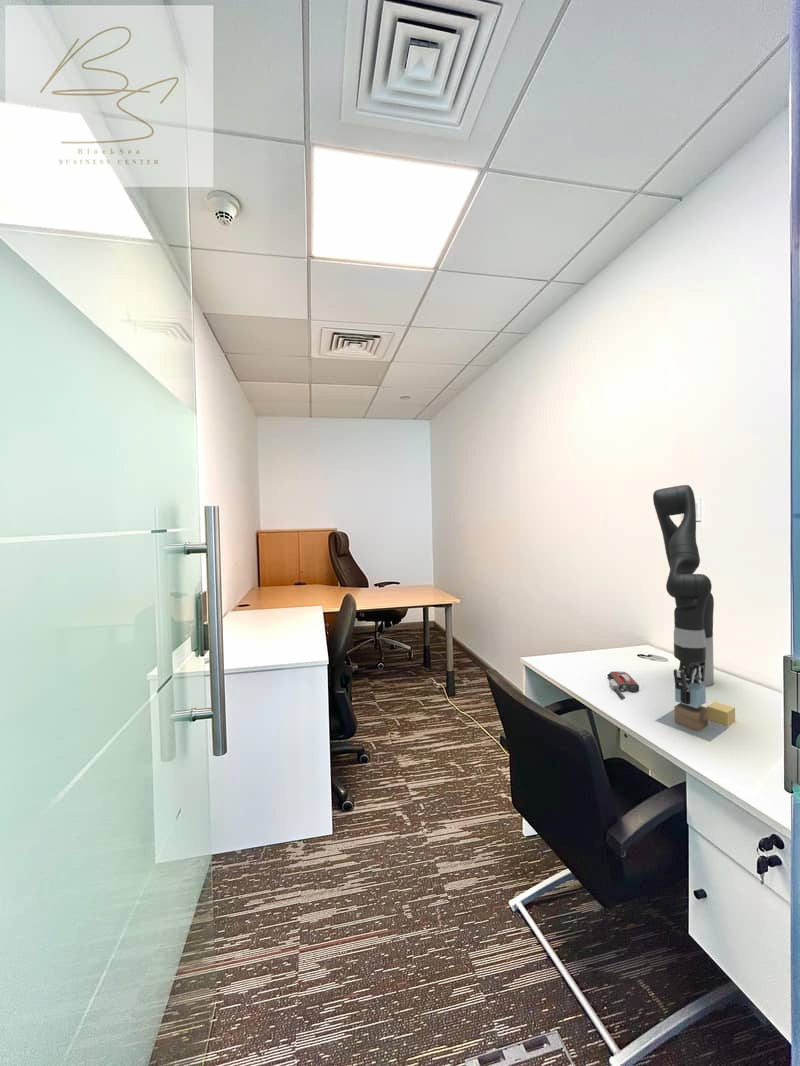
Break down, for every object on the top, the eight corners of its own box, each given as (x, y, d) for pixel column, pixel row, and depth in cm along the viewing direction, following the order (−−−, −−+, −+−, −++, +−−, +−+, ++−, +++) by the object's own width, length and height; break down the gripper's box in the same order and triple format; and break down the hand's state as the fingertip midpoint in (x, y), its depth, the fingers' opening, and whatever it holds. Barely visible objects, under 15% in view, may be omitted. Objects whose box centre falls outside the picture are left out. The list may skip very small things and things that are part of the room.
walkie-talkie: (601, 678, 157) (620, 702, 137) (601, 666, 157) (620, 689, 137) (626, 678, 155) (649, 702, 136) (626, 667, 155) (648, 689, 136)
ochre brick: (714, 717, 124) (714, 701, 124) (735, 724, 120) (734, 707, 120) (707, 722, 121) (707, 706, 121) (727, 729, 117) (727, 712, 117)
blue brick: (684, 696, 123) (684, 679, 123) (705, 702, 118) (705, 685, 118) (675, 701, 120) (674, 684, 120) (696, 708, 115) (696, 690, 115)
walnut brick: (684, 716, 123) (684, 700, 123) (707, 724, 118) (707, 707, 118) (674, 722, 120) (674, 706, 120) (698, 731, 115) (697, 714, 115)
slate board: (675, 711, 128) (675, 708, 128) (729, 730, 116) (729, 727, 116) (655, 723, 122) (655, 720, 122) (710, 745, 110) (710, 741, 110)
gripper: (686, 634, 125) (687, 689, 126) (662, 644, 118) (663, 702, 118) (715, 640, 119) (716, 697, 120) (692, 651, 111) (693, 712, 112)
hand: (690, 699), depth 119 cm, fingers closed on blue brick, 5 cm apart
